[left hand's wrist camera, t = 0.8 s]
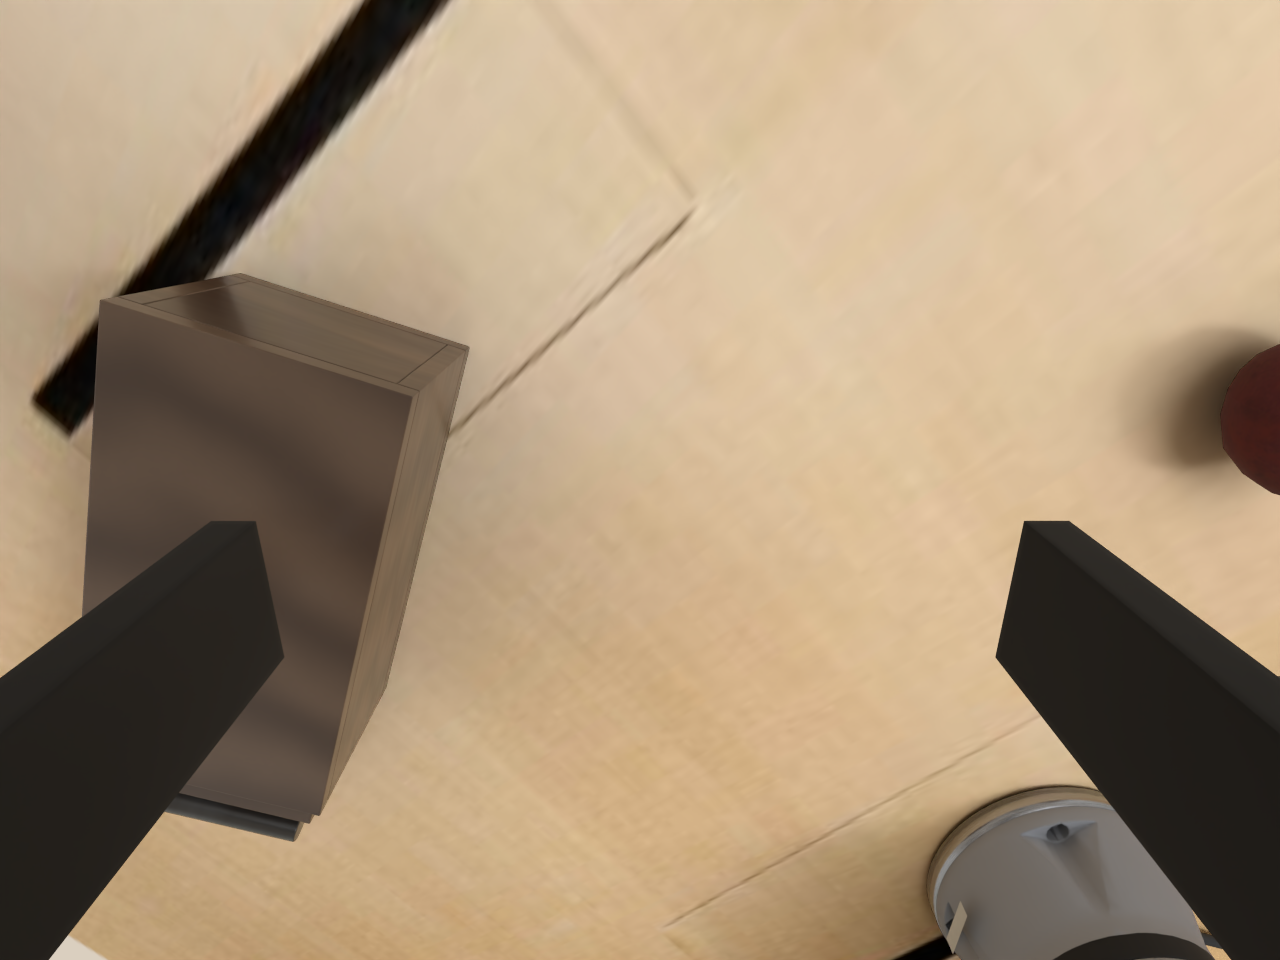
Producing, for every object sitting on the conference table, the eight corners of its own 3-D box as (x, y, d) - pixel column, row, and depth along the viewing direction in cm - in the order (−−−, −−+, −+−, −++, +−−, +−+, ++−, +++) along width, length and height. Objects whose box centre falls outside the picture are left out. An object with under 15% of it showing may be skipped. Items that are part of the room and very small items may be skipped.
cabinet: (386, 687, 44) (319, 816, 34) (194, 637, 42) (73, 757, 33) (469, 346, 36) (412, 396, 27) (240, 272, 35) (99, 299, 26)
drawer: (348, 790, 45) (292, 904, 38) (183, 750, 44) (93, 859, 37) (440, 403, 36) (389, 455, 29) (235, 340, 35) (128, 377, 28)
